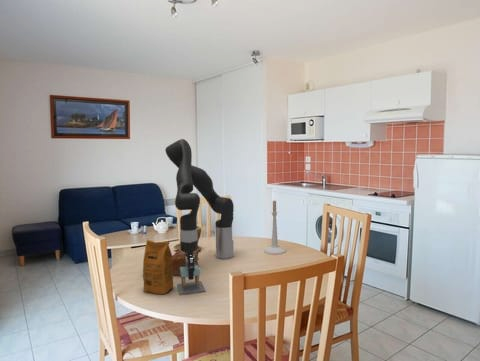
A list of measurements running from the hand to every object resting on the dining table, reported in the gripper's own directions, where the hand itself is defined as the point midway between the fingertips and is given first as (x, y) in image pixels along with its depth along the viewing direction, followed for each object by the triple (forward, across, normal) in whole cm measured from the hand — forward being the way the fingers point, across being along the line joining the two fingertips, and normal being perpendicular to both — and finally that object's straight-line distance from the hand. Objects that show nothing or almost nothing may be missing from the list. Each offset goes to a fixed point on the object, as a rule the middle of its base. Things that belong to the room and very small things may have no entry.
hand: (190, 276), depth 156 cm
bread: (+6, -25, 0) cm, 25 cm away
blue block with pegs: (+4, 0, 0) cm, 4 cm away
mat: (+5, 0, 0) cm, 5 cm away
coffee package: (+6, -3, -14) cm, 15 cm away
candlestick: (+5, -38, +54) cm, 66 cm away
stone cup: (+6, -56, +7) cm, 57 cm away
